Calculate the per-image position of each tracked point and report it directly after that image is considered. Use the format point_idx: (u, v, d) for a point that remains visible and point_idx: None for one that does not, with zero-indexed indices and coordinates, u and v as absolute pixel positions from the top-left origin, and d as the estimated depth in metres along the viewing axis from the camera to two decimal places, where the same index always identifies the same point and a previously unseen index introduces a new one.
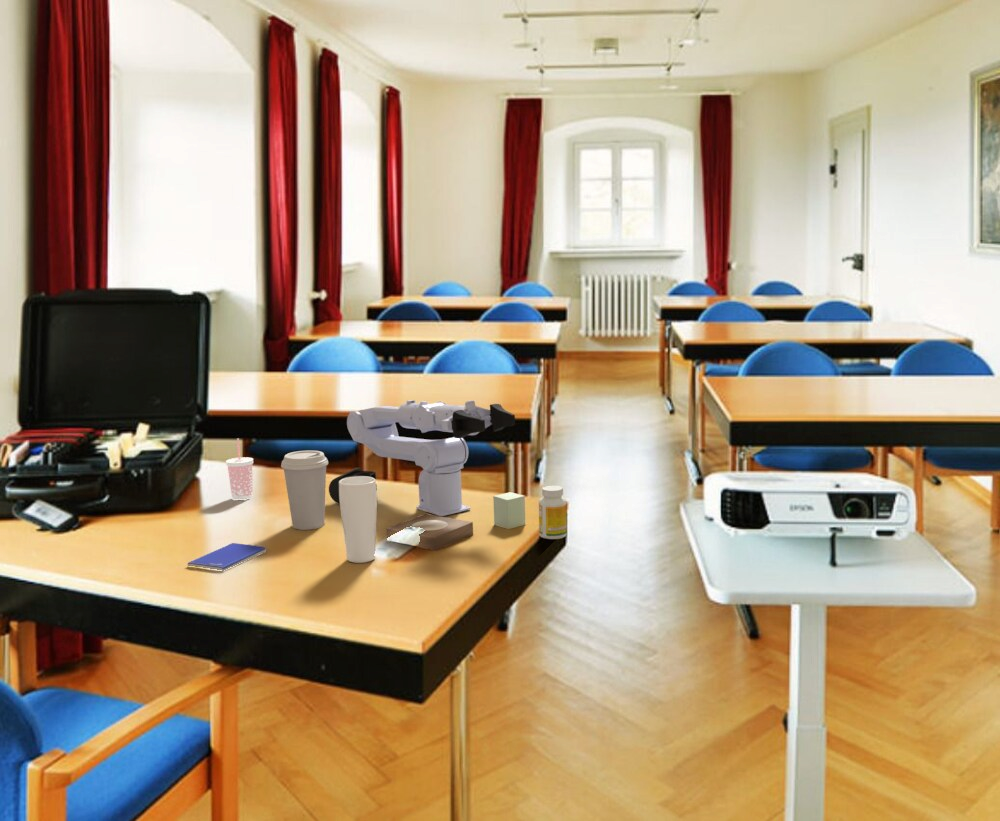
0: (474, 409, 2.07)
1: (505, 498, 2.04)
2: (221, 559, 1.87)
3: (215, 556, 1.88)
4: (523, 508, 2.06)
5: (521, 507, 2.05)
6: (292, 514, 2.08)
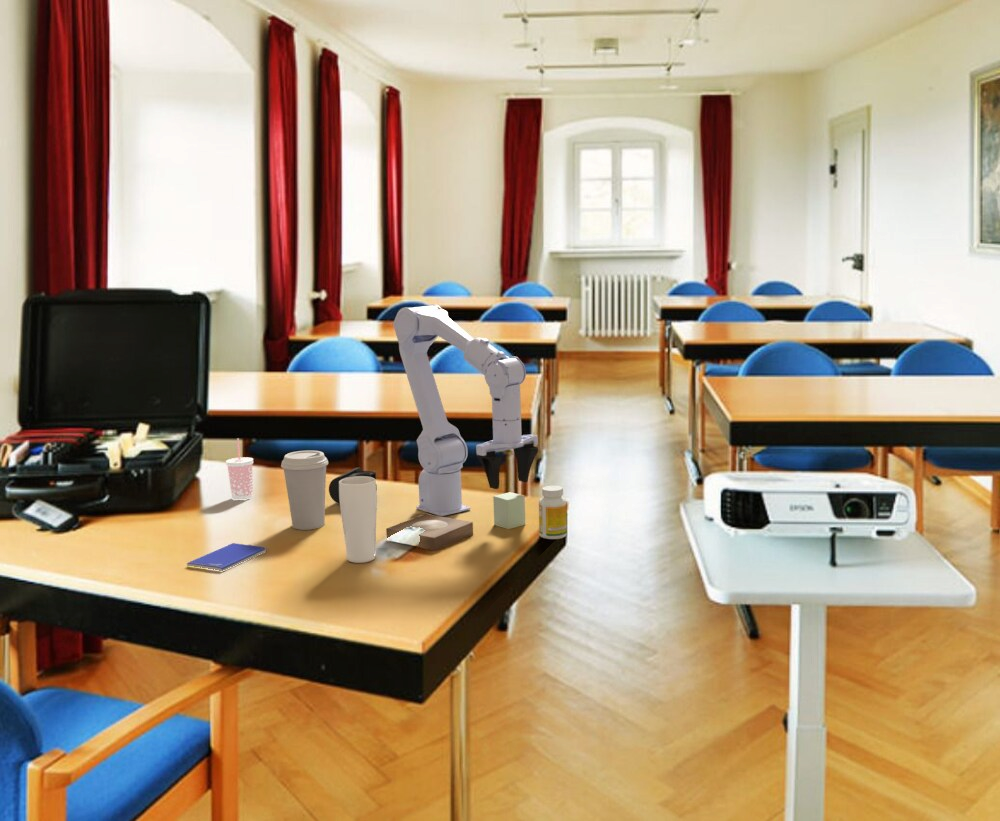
0: None
1: (505, 498, 2.04)
2: (221, 559, 1.87)
3: (214, 557, 1.88)
4: (523, 508, 2.06)
5: (521, 507, 2.05)
6: (292, 514, 2.08)
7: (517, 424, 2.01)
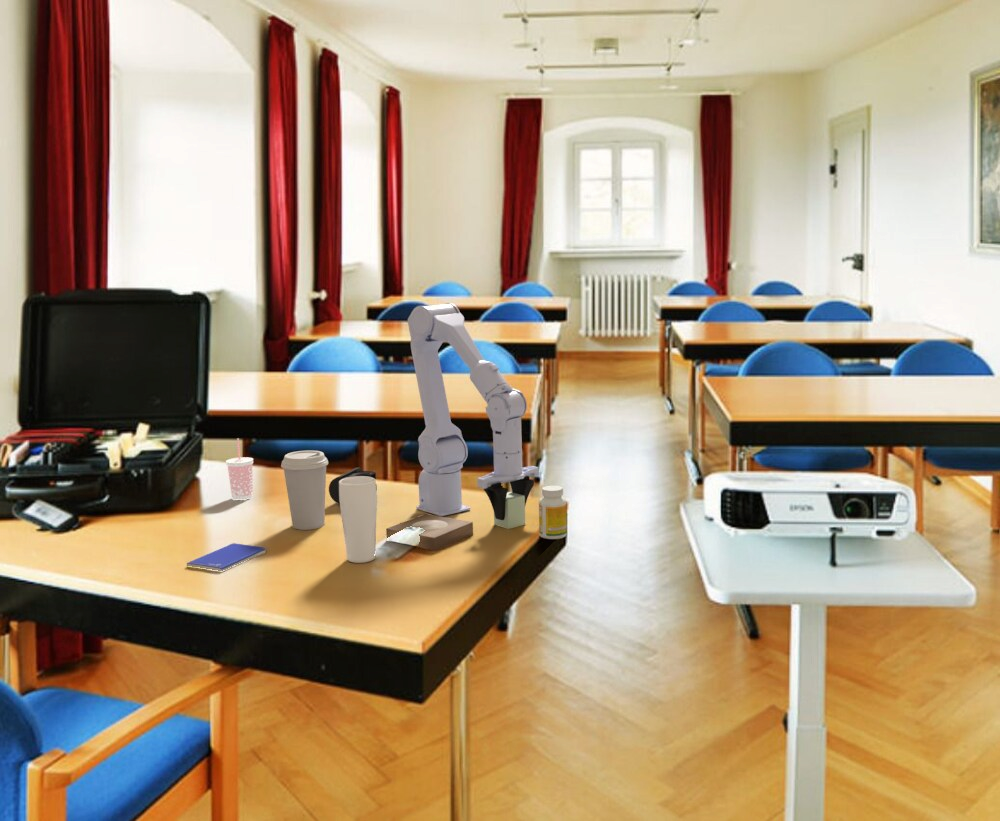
0: None
1: None
2: (221, 559, 1.86)
3: (214, 557, 1.88)
4: (523, 508, 2.06)
5: (521, 507, 2.05)
6: (292, 514, 2.08)
7: (518, 457, 2.03)
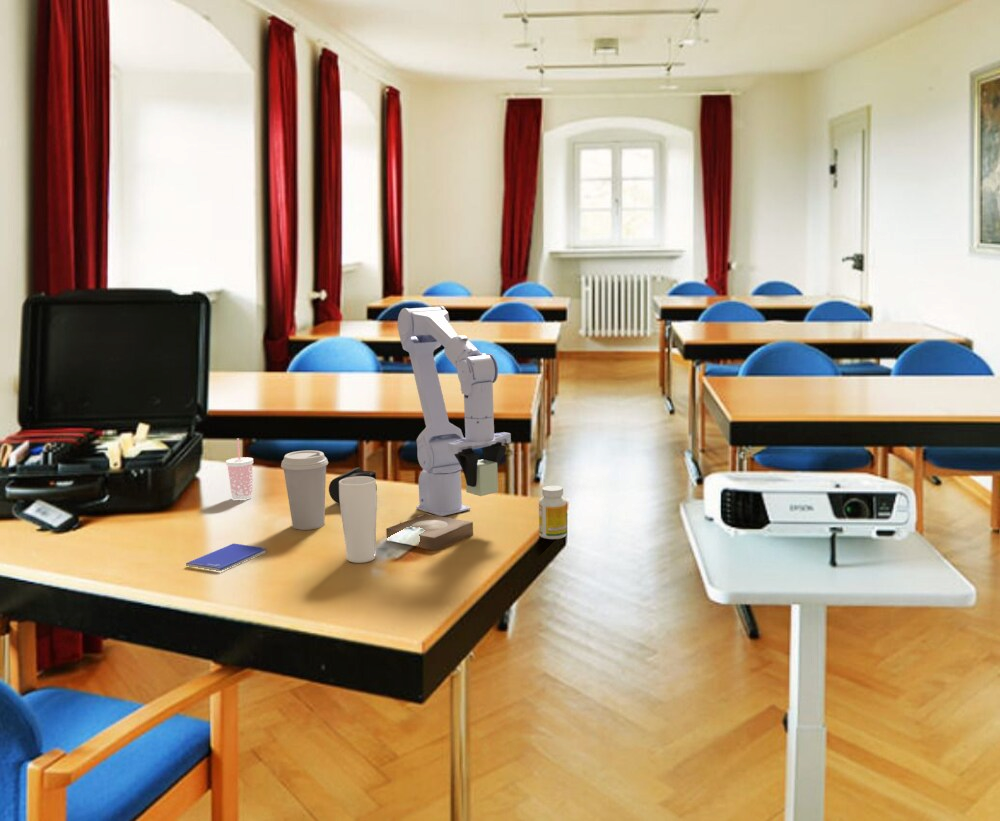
0: None
1: (477, 465, 2.00)
2: (220, 560, 1.86)
3: (213, 557, 1.88)
4: (496, 475, 2.02)
5: (494, 474, 2.02)
6: (292, 514, 2.08)
7: (489, 422, 1.99)
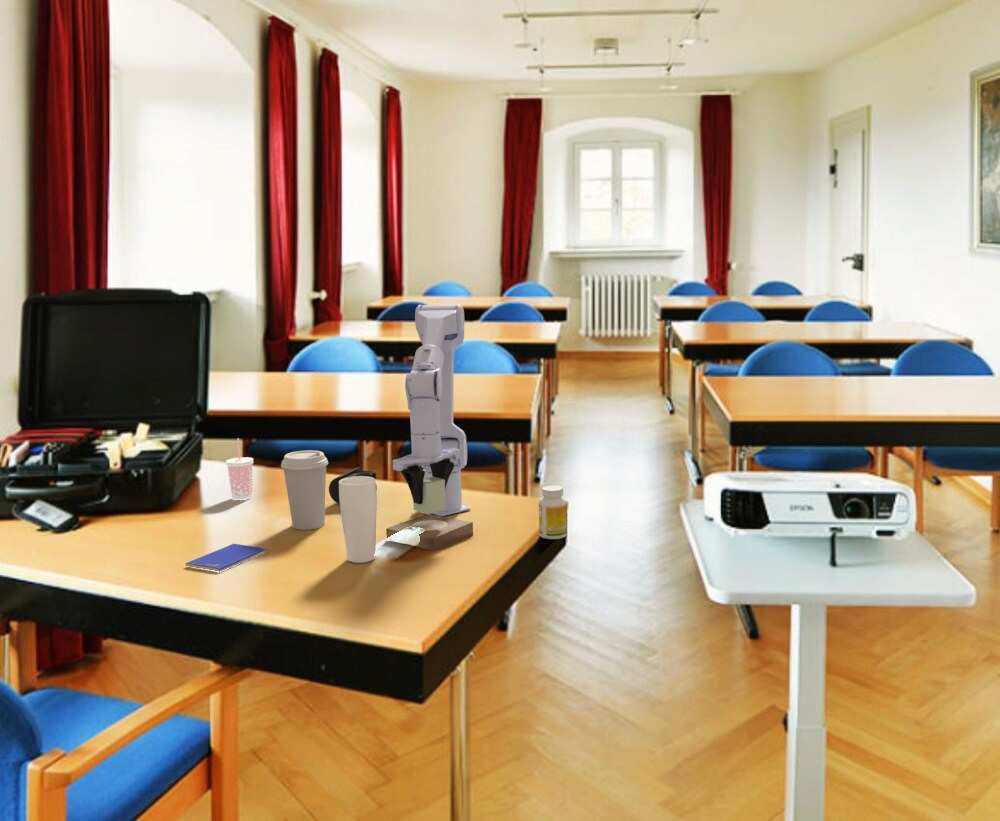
0: None
1: (424, 482, 1.95)
2: (219, 560, 1.86)
3: (213, 557, 1.88)
4: (443, 492, 1.97)
5: (441, 491, 1.97)
6: (292, 514, 2.08)
7: (436, 438, 1.94)
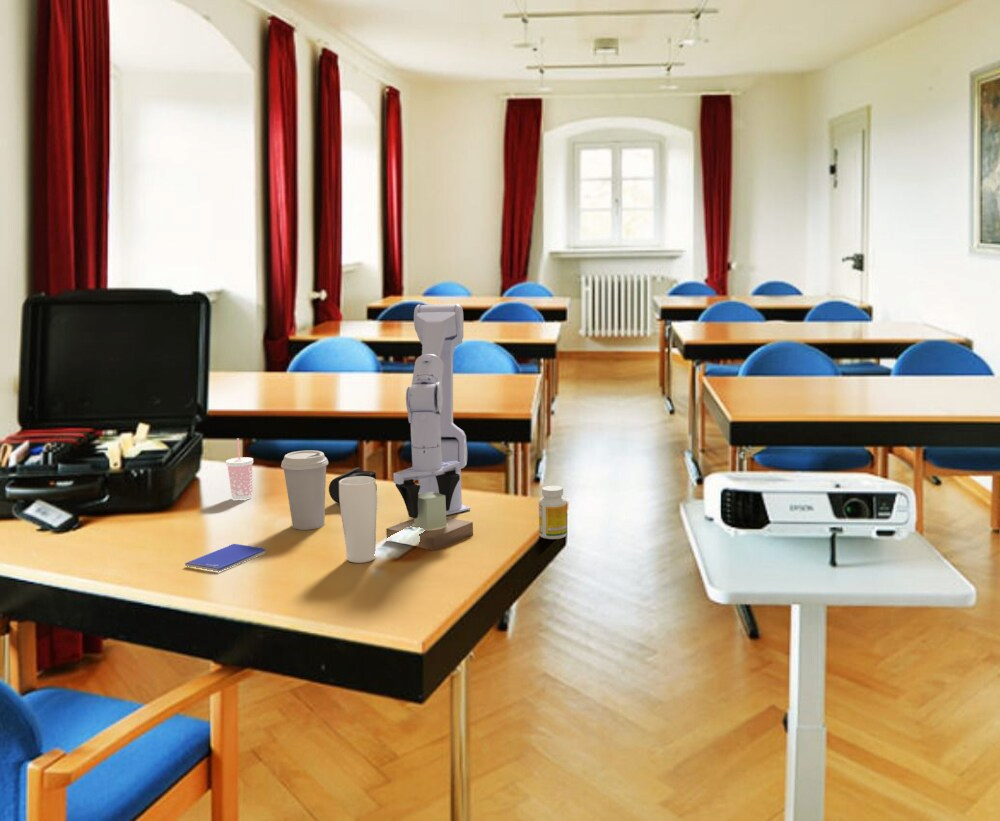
0: None
1: (424, 498, 1.96)
2: (219, 560, 1.86)
3: (213, 557, 1.88)
4: (444, 508, 1.98)
5: (442, 507, 1.97)
6: (292, 514, 2.08)
7: (436, 451, 1.95)
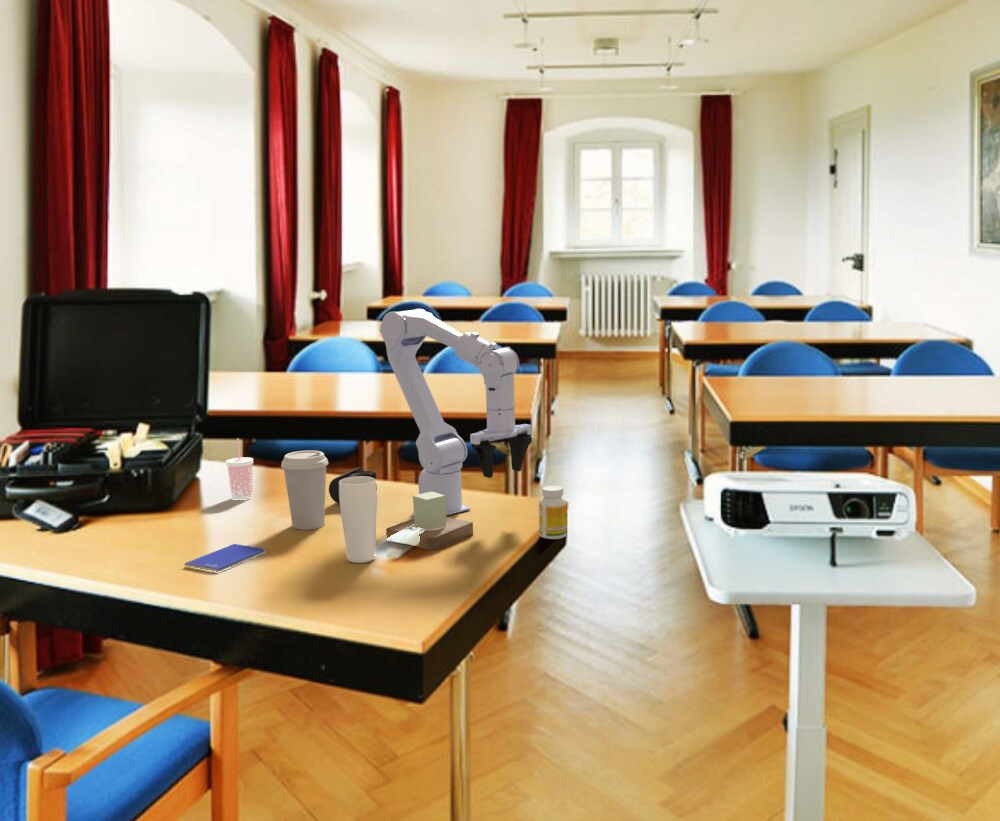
0: None
1: (424, 498, 1.96)
2: (218, 560, 1.86)
3: (212, 557, 1.88)
4: (444, 508, 1.98)
5: (442, 507, 1.97)
6: (292, 514, 2.08)
7: (511, 413, 2.04)
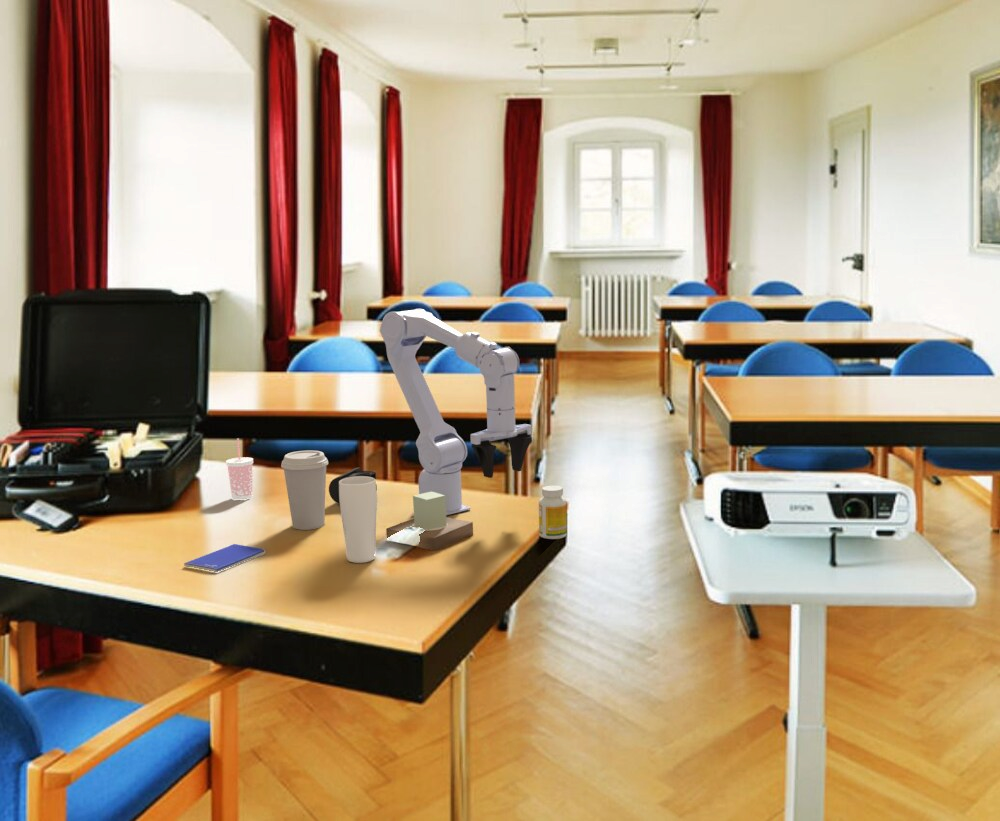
0: None
1: (424, 498, 1.96)
2: (218, 560, 1.86)
3: (212, 557, 1.88)
4: (444, 508, 1.98)
5: (442, 507, 1.97)
6: (292, 514, 2.08)
7: (511, 413, 2.04)
